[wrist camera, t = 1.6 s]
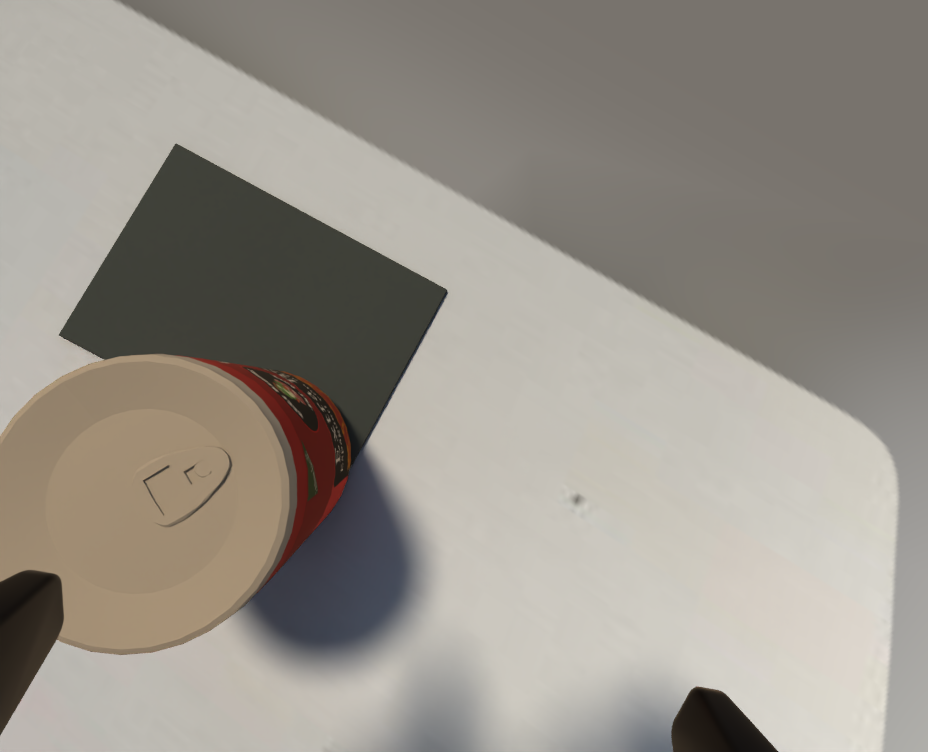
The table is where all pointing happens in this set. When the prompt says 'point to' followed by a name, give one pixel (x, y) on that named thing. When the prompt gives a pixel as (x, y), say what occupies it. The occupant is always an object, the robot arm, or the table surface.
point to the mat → (255, 291)
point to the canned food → (165, 492)
